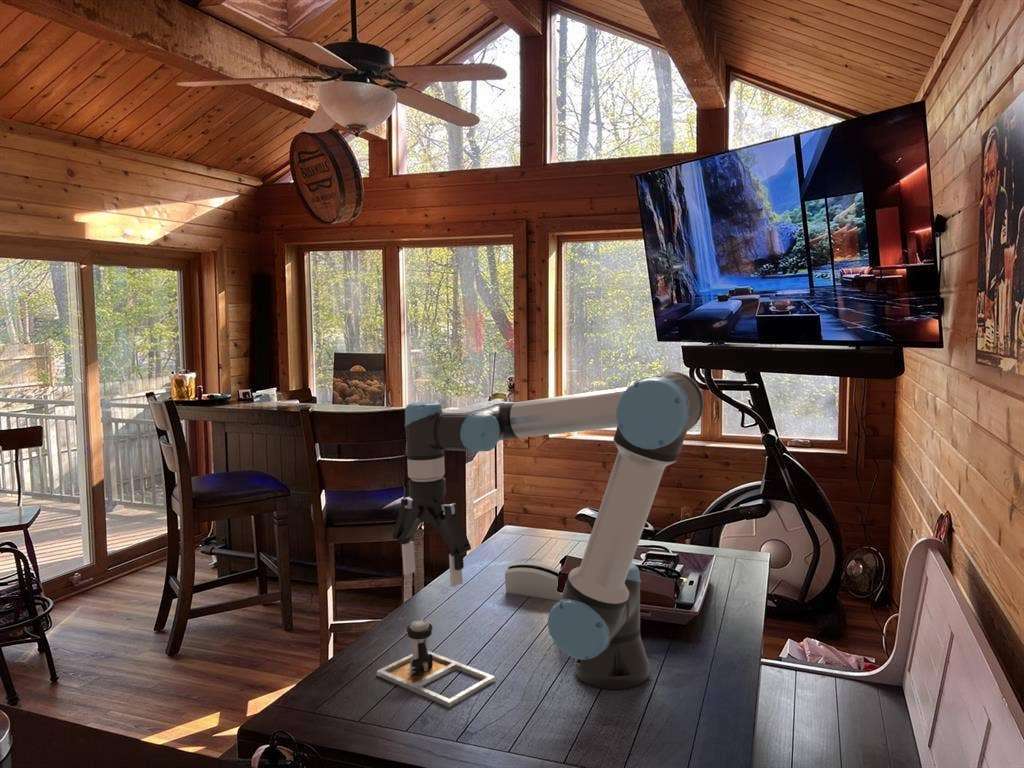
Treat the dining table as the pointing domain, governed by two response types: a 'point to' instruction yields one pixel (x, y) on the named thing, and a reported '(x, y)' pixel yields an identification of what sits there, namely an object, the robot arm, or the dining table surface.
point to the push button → (420, 646)
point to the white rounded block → (532, 580)
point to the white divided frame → (433, 677)
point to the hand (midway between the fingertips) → (432, 579)
